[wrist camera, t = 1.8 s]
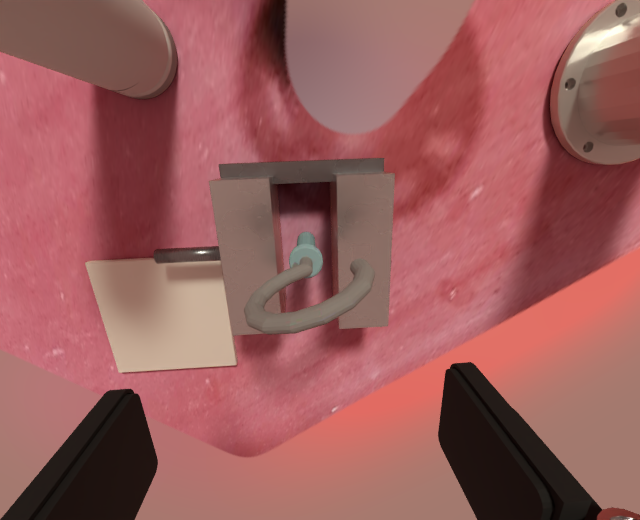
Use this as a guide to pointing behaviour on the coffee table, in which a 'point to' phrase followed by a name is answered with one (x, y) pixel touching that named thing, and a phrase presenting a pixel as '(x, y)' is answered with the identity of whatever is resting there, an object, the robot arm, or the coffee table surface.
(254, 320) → the hook
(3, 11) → the travel mug
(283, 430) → the coffee table surface
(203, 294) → the mat
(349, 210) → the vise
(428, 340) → the coffee table surface
